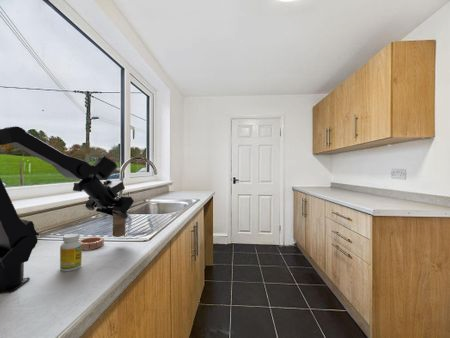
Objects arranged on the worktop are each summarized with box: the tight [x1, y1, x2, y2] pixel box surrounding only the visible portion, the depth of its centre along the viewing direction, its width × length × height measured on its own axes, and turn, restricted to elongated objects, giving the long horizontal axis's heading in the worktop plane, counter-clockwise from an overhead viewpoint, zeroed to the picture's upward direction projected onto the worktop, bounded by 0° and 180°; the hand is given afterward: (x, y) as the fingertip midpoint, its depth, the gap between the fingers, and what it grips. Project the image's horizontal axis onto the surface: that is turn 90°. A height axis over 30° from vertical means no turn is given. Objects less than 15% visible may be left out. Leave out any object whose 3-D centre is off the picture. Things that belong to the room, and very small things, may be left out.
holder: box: [78, 236, 105, 251], centre depth 90 cm, size 9×9×2 cm
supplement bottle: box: [59, 233, 83, 272], centre depth 70 cm, size 5×5×10 cm
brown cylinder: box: [112, 210, 127, 238], centre depth 90 cm, size 4×4×12 cm
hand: (122, 216), depth 91 cm, fingers closed on brown cylinder, 4 cm apart
